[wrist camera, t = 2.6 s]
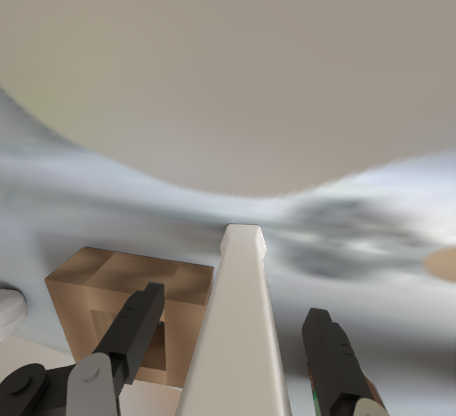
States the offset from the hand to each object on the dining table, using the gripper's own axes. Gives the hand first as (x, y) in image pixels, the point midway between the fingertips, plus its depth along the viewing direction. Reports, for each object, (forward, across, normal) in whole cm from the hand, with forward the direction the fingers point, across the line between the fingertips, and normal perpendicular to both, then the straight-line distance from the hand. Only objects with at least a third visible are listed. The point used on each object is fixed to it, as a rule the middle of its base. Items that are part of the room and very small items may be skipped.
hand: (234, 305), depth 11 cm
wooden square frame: (+6, +8, +9) cm, 14 cm away
